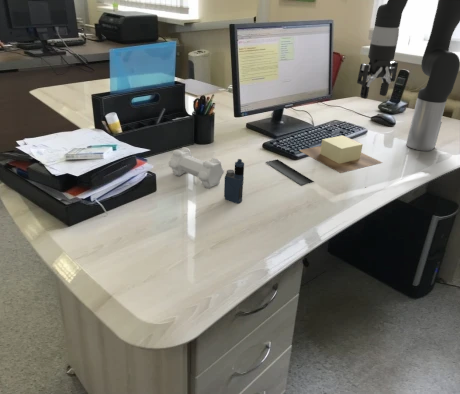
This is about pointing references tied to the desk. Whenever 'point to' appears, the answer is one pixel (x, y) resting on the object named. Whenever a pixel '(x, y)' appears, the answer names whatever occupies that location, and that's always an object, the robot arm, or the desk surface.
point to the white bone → (196, 167)
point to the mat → (289, 172)
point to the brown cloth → (341, 167)
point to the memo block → (341, 149)
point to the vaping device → (234, 183)
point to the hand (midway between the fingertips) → (373, 96)
